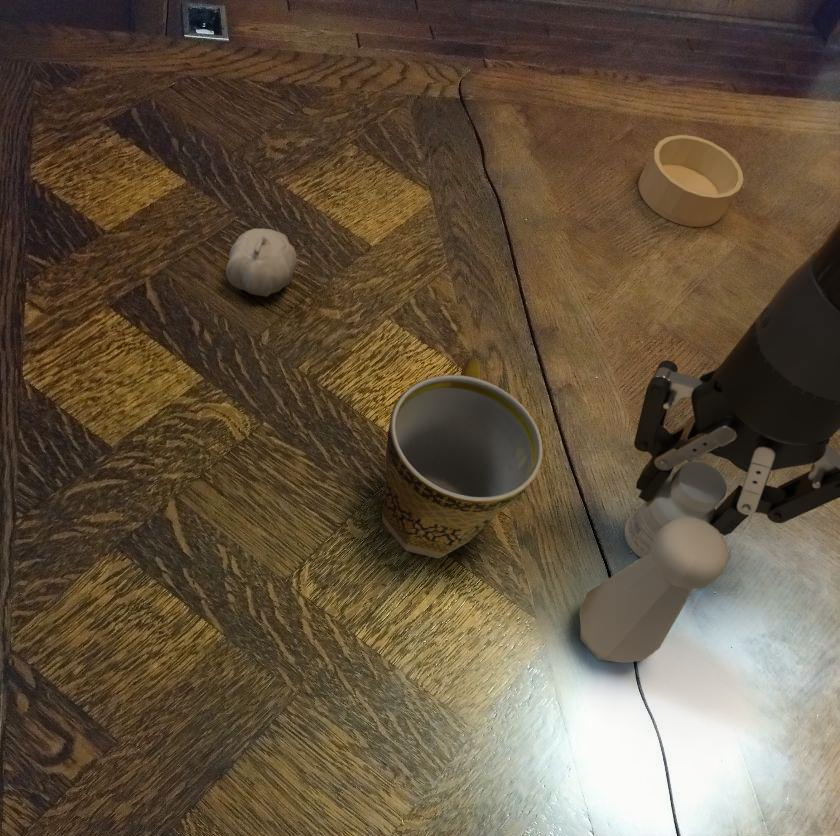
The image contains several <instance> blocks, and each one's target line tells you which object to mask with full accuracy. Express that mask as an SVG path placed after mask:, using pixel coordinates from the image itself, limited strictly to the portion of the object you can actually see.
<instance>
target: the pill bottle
mask: <svg viewBox="0 0 840 836" xmlns="http://www.w3.org/2000/svg"><path fill="white" fill-rule="evenodd" d="M727 492H728V485H727V481H726V479H725V477H724V476H723V474H722V472H720V471H719V470H718V469H717V468H716V467H714V466H713V465H711V464H708V463H706V462H703V461H699V460H693V461H691V462H689V461H687V462H686V463H684V464H682V465H681V466H680V467H679V468H678V469H677V471H676V472H675V473H674V475H672V476H671V475H670V476H669V477H668V478H667V479H666V481H665V482H664V483H663V484H662V485H661V487H660V488H659V489H658V490H657V492H656V493H655V494H654V495H653V496H652V498H651V499H650V500H649V501H648V502H646V501H644V500H643V502H642V503H641V504H640V505H639V507H638V508H636V510H635V511H634V513H633V514H632V515H631V516H630V517H629V519H627V521H626V524H625V527H624V537H625V541H626V543H627V545H628V547H629V548H630V549H631V550H632V552H633V553H634V554H635V555H637V557H639V558H642V557H643V556H645V555H647V554H648V553H650V552H651V546H652V543H653V541H654V538H655V535H656V534H657V532H658V531H659V530H660V529H661V528H662V527H663V526H665V525H666V524H668V523H669V522H671V521H673V520H674V519H676V518H678V517H689V516H691V517H694V518H697V519H700V520H703V521H706V522H707V523H709V524H710V523H711V521H712V520H713V518H714V515H715V510H716V508H717V507H718V505H720V504H721V503H722V502H723V501H724V499H725V497H726V495H727Z"/></svg>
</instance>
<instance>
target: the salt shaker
mask: <svg viewBox="0 0 840 836" xmlns="http://www.w3.org/2000/svg"><path fill="white" fill-rule="evenodd" d="M730 559H731V555H730V550H729V545H728V542H727V541H726V539H725V538H724V537H723V535H722V534H720V532H719V531H718V530H717V529H716V528H714V527H713V526H711V525H710V524H709V523H707V522H706V521H703V520H700V519H697V518H694V517H691V516H689V517H678V518H676V519H674V520H673V521H671V522H669V523H668V524H666V525H665V526H663V527H662V528H661V529H660V530H659V531H658V532H657V534H656V535H655V538H654V541H653V543H652V546H651V552H650V553H648V554H647V555H645V556H643V557H642V558H641V557H639V558H638V559H637V560H635V561H634V562H633V563H631V564H629V565H627V566H626V567H625V568H623V569H622V570H620V571H618V572H616V573H615V574H614V575H611V576H610V577H609V578H607V579H606V580H604V581H602V582H601V583H599V584H598V585H597V586H595V587H593V588H591V589H590V590H588V591H587V592H586V593H585V596H584V598H583V601H582V604H581V606H580V609H579V611H578V612H579V621H580V638H579V639H580V641H581V642H582V643H583V645H584V646H586V648H587V649H588V650H589V651H590V652H591V654H592V655H594V657H595V658H596V659H597V660H598V661H605V662H614V663H615V662H616V663H622V664H623V663H624V664H627V663H634V662H642V661H644V660H646V659H647V658H649V657H650V656H652V655H653V654H655V652H656V651H658V650H659V649H660V648H661V647H662V644H663V643H664V641H665V640H666V637H667V635H668V634H669V632H670V630H671V629H672V627H673V625H674V623H675V622H676V620H677V619H678V617H679V616H680V615H679V614H680V613H681V612H682V609H683V608H684V606H685V605H686V603H687V601H688V600H689V598H690V596H691V594H692V592H693V590H699V589H700V590H701V589H705V588H708V586H710V585H711V584H713V582H715V581H716V580H718V579H719V578H721V576H723V574H724V572H725V571H726V570H727V568H728V564H729V561H730Z"/></svg>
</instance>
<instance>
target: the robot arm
mask: <svg viewBox="0 0 840 836" xmlns="http://www.w3.org/2000/svg"><path fill="white" fill-rule="evenodd" d="M678 371H679V367H678V366H677V364H676V363H675V362H674V361H672V360H661V362H659V364H658V366H657V368H656V370H655V371H654V373H653V375H652V377H651V379H650V381H649V383H648V384H647V387H646V390H645V394H644V398H643V402H642V406H641V410H640V415H639V420H638V425H637V428H636V434H635V437H634V442H633V446H634V448H635V449H636V450H637V451H639V452H642V453H649V454H650V456H651V458H650V459H649V460H648V462H647V463H646V464H645V466H644V467H643V468H642V470H641V472H640V474H639V476H638V477H637V480H636V484H635V488H636V489H637V490H639V491H640V492H639V494H638V498H639V499H640V500H642V501H643V502H644V501H646V502H648V501H649V500H650V499H651V498H652V496H653V495H654V494H655V493H656V492H657V490H658V489H659V488H660V487H661V485H662V484H663V483H664V482H665V481H666V479H667V478H668V477H671V475H672V472H673V470H674V468H676V467H678V466H679V465H681V464H682V463H685V462H686V461H687V462H692V461H696V460H697V459H699V458H701V457H702V456H705V455H706V454H708V453H709V454H711V455H712V456H716V457H719V458H722V459H724V460H728V461H729V463H731V464H732V465H733V466H735V467H736V468H738V469H739V470H741V471H743V472H745V473H746V475H745V479H744V482H743V485H741V484H738V485H737V486H736V487H735V489H734V490H733V491H732V492H731V493H730V494H729V495H728V496H726V498H724V499H723V500H722V501H721V502H720V503H719V506H717V507H716V508H715V515H714V518H713V520H712V521H711V523H710V525H711V526H713V527H714V528H716V529H717V530H718V531H719V532H720V534H721V535H722V536H727V535H730V534H732V533H733V532H734V531H735V530H736V529H737V528H738V527H739V526H740V525H741V524H742V523H743V522H744V521H745V520H746V519H747V518H748V517H749V516H751V515H754V514H763V515H766V517H767V519H768V520H769V521H770V522H772V523H774V524H783V523H786V522H787V521H790V520H792V519H795V518H797V517H799V516H801V515H803V514H806V513H808V512H810V511H812V510H815V509H817V508H820V507H822V506H823V505H826V504H827V503H831V502H832V501H835V500H838V499H839V498H840V454H838V453H837V452H836V451H835V450H834V449H833V448H832V447H830V446H829V443H830V439H831V438H832V437H833V436H834V435H835V434H836V433H837V432H838V431H839V430H840V219H839V220H838V221H837V222H836V224H835V225H834V227H832V229H831V230H830V232H829V233H828V234H827V235H826V237H825V238H824V239H823V241H822V242H821V243H820V244H819V246H818V247H817V249H816V250H815V251H814V252H813V253H812V254H811V255H810V256H809V257H808V258H807V259H806V260H805V261H804V262H803V263H801V265H800V266H799V267H798V268H796V269H795V270H794V272H793V273H791V275H789V277H788V278H787V279H786V280H785V282H784V283H783V284H782V285H781V287H780V288H779V290H778V291H777V292H776V293H775V295H774V296H773V297H772V298H771V300H770V301H769V302H768V304H766V306H765V307H764V309H763V310H762V311H761V312H760V313H759V315H758V316H757V317H756V319H755V320H754V322H753V323H752V324H751V326H749V328H748V329H747V331H746V332H744V334H743V336H741V338H740V340H738V342H737V343H736V345H735V346H734V347H733V348H732V350H731V351H730V352H729V354H728V355H727V356H726V358H725V359H724V360H723V362H722V363H721V364H720V365H719V366H718V367H717V368H715V369H714V370H711V371H708V372H706V373H704V374H702V375H701V376H700V377H695V376H692V375H688V374H684V373H679V372H678ZM683 399H690V401H691V406H692V412H693V416H691V417H690V418H689V419H688V420H687V422H686V423H685V424H682V425H681V426H679V427H677V428H676V429H675V430H673V431H672V432H670V431H669V430H668V429H667V428H666V427H664V425H665V420H666V418H667V414H668V410H670V409H671V408H673V407H676V406H678V405H679V403H680V402H681V400H683ZM810 464H812V465H811V468H810V470H809V471H807V472H804V473H802V474H800V475H798V476H797V477H794V478H792V479H790V480H788V481H786V482H784V483H782V484H779V486H777V487H776V486H772V485H767V483H768V481H769V478H770V475H771V473H772V472H773V471H777V470H782V469H787V468H794V467H799V466H805V465H810Z"/></svg>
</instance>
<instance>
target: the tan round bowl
mask: <svg viewBox="0 0 840 836" xmlns="http://www.w3.org/2000/svg"><path fill="white" fill-rule="evenodd" d="M743 173H744V172H743V170H742V168H741V166H740V165H739V162H738V160H736V159H735V157H734V156H732V155H731V154H730V153H729V152H728V151H727V150H726V149H724V148H722V147H721V146H719V145H717V144H715V143H714V142H713V141H710V140H708V139H705V138H701V137H698V136H694V135H687V134H677V135H670V136H667V137H665V138H663V139H661V140H659V141H658V143H657V144H656V145H655V148H654V149H653V151H652V153H651V155H650V156H649V159H648V160H647V162H646V164H645V166H644V167H643V170H642V172H641V173H640V175H639V178H638V183H637V185H638V191H639V195H640V196H641V198H642V200H643V201H644V203H645V204H646V205H647V206H648V207H649V208H650V209H651V210H652V211H653V212H654V213H656V214H658V215H659V216H660V217H662V218H664V219H665V220H668V221H669V222H671V223H675V224H677V225H680V226H686V227H692V228H694V227H695V228H701V227H708V226H711V225H714V224H715V223H717V222H718V221H719V220H720V219H722V217H723V216H724V215H725V213H726V212H727V211H728V208H730V205H731V204H732V203H733V201H734V199H735V198H736V196H737V194H739V192H740V190H741V187H742V186H743V185H744V175H743Z"/></svg>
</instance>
